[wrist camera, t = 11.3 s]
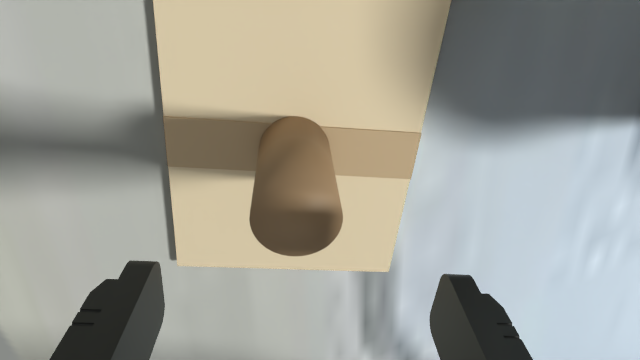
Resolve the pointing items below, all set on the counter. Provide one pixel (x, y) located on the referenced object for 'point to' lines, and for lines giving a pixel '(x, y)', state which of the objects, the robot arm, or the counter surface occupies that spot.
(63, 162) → the counter surface
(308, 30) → the lid
